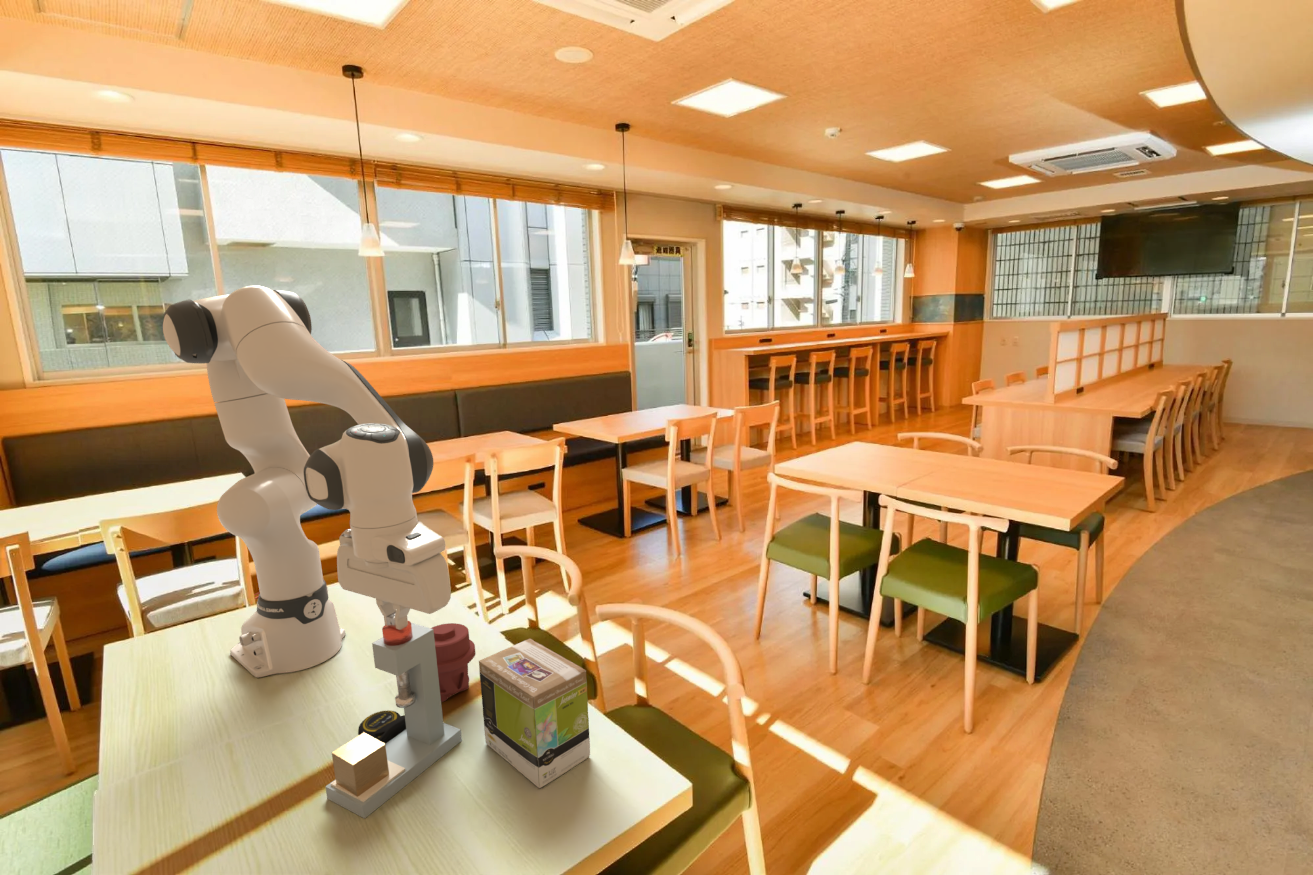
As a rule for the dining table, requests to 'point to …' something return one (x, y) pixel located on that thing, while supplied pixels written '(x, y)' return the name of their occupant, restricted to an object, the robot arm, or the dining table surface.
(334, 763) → the block
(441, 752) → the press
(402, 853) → the dining table surface
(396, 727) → the tape measure
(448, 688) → the mechanical component
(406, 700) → the button
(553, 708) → the tea box
